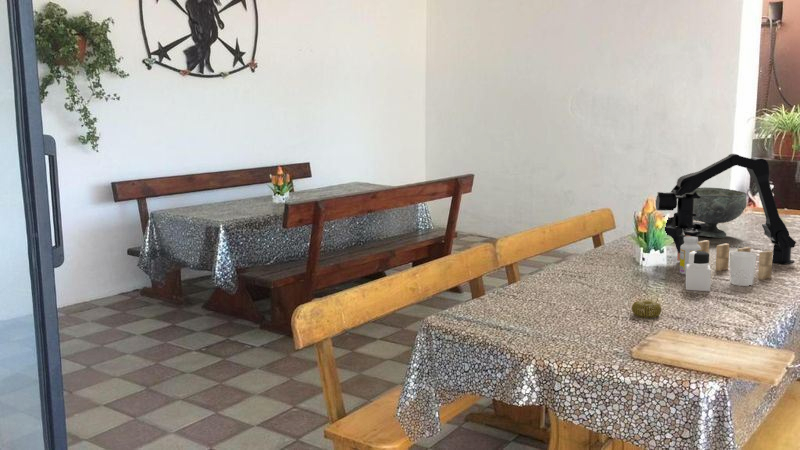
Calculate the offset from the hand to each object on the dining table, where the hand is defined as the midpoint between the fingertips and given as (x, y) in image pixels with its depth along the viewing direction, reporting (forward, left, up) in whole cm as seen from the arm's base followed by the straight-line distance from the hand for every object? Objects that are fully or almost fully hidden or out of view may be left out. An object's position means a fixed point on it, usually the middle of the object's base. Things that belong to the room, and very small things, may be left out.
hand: (683, 251), depth 275 cm
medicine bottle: (+29, +27, -4) cm, 40 cm away
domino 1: (0, 0, -3) cm, 3 cm away
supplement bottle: (+14, +13, -4) cm, 20 cm away
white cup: (+13, +32, -4) cm, 35 cm away
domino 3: (0, +16, -4) cm, 16 cm away
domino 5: (0, +32, -4) cm, 32 cm away
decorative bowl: (-53, -25, -4) cm, 59 cm away
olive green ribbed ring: (+66, +37, -4) cm, 76 cm away
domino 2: (0, +8, -4) cm, 9 cm away
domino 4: (0, +24, -4) cm, 24 cm away
